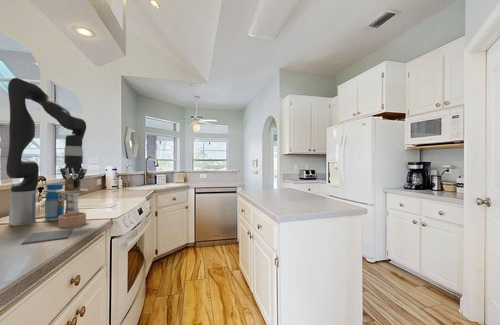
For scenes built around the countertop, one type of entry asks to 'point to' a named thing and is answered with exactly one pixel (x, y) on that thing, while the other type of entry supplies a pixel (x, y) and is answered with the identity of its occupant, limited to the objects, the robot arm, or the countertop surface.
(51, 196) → the beverage bottle
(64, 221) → the terracotta bowl
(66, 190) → the oak lid
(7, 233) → the countertop surface
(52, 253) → the countertop surface
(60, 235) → the charcoal mat
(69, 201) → the plastic bottle
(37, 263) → the countertop surface
